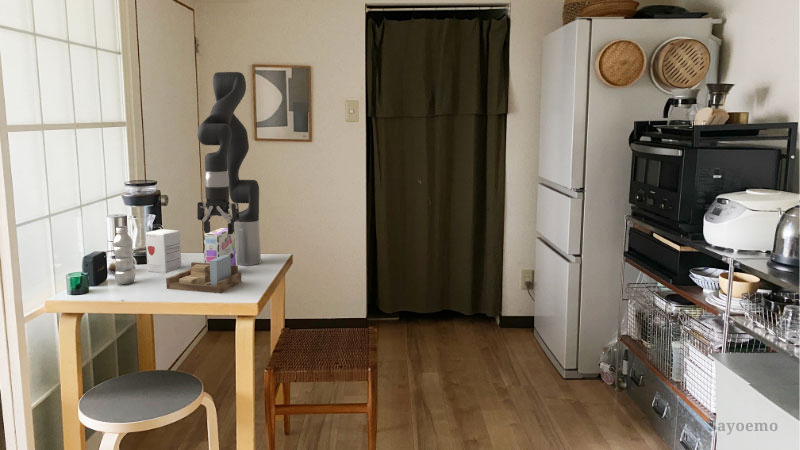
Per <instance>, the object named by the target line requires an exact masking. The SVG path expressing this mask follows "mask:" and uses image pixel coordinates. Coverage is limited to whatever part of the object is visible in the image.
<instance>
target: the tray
mask: <svg viewBox="0 0 800 450" xmlns="http://www.w3.org/2000/svg"><path fill="white" fill-rule="evenodd" d="M196 264H199V265H210V263H205V262H196V261H195V262H193V261H192V262H191V263H190V267H192V266H194V265H196ZM190 275H191V268H188V269H186V270H184V271H181V272H179V273H176V274H174V275H171V276H169V277H166V278H165V280H166V281H165V282H166V290H178V291H187V292H189V291H190V292H200V293H210V294H211V293H213V294H223V292H226V291H228V290H230V289H232V288H234V287H236V286H238V285H240V284H241V283H242V272H239V265H238V264H236V265H231V276H229V277H227V278H225V279H223V280H221V281H219V282H217V286H212V285H211V281H210V282H208V283H205V284H203V285H200V284H188V283H179V279H180V278H183V277H186V276H190Z"/></svg>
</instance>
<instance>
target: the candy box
mask: <svg viewBox="0 0 800 450" xmlns="http://www.w3.org/2000/svg"><path fill="white" fill-rule="evenodd" d="M203 250H204V251H203V253H204V256H203V257H204V263H210V260H212V259H215V258H217V257H220V256H223V255H230V258H231V265H237V261H236V234H235V231H234V232H233V234H231V235H230V234H228V227H220V228H217V229H216V230H215V229H214V230H212V231H210V233H203Z"/></svg>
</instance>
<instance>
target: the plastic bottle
mask: <svg viewBox="0 0 800 450" xmlns="http://www.w3.org/2000/svg"><path fill="white" fill-rule="evenodd" d="M128 232H129V231H128V226H126V225H125V226H124V225H123V226H121V225H120V226H116V227H115V236H114V238H113V239H112V248H113V251H114V258H115V259H114V260H115V271H114V279H115V282H116V283H117V284H118V285H127V284H128V285H129V284H131V283H133V282H135V279H136V272H135V268H134V263H133V262H134V261H133V247H134V246H133V242H134V241H133V239H132V237H131V236H130V235H129V233H128Z"/></svg>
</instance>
